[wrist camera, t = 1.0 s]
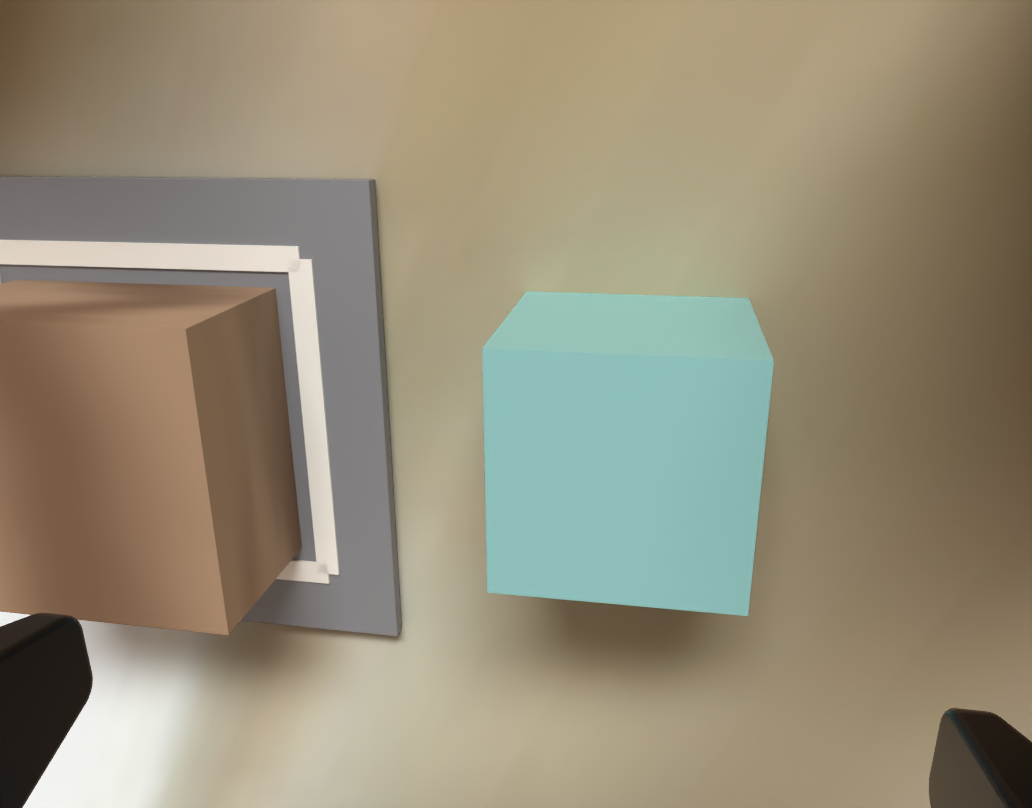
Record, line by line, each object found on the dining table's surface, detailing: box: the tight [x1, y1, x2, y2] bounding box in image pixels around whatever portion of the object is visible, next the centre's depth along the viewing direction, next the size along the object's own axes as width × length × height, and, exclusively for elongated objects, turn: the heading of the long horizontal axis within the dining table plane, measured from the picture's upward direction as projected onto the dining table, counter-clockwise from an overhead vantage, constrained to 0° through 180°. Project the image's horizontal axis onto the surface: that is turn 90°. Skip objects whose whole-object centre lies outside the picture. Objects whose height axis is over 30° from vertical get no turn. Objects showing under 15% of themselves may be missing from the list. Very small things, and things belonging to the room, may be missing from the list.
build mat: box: [0, 176, 402, 636], centre depth 22 cm, size 12×12×1 cm
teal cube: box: [482, 291, 774, 616], centre depth 18 cm, size 5×5×5 cm
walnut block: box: [0, 280, 302, 635], centre depth 20 cm, size 7×7×4 cm
